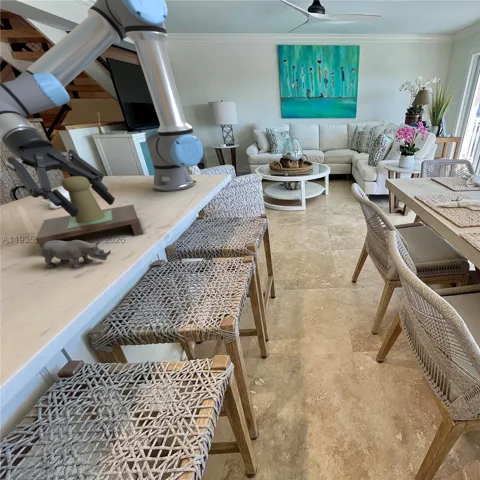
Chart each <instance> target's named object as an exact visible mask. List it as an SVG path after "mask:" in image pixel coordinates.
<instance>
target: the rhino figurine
mask: <svg viewBox="0 0 480 480" xmlns="http://www.w3.org/2000/svg"><path fill="white" fill-rule="evenodd" d="M100 242H101V240H100V239H98V241H96V242H95V243H90V242H88V241H84V240H79V239H73V240H69V241H65V240H61V239H60V240H54V241H46V242H45V243H44V245H43V247H42V249H41V255H42V257H43V258H44V263H45V264H46V268H47V269H50V268H51V269H53V268H54V267H55V266H56V263H54V262H52V260H53V259H54V258H56V259H59V260H60V263H69V262H71V261H72V262H73V264H72V266H73V268H74V269H78V268H81V267H82V266H83V265H82V263H80V258H82V259H83V262H84V263H86V264H87V263H91V262H93V259H96V260H100V261H106V260H107V259H108V256H109V255H110V254H111V252H112V251H111V249H110V250H108V251H106V252H105V249H101V248H99V247H98V245H100Z"/></svg>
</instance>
